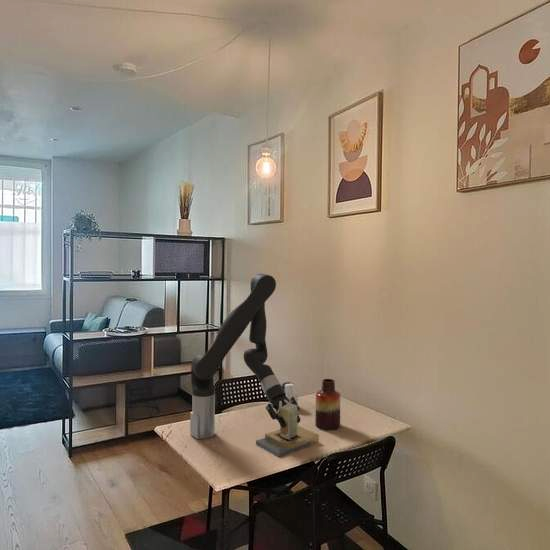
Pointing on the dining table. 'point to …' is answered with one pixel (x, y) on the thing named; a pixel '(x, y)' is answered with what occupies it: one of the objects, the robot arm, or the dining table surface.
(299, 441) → the tan flat frame
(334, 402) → the vase
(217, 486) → the dining table surface
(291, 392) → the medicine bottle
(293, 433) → the skincare box
